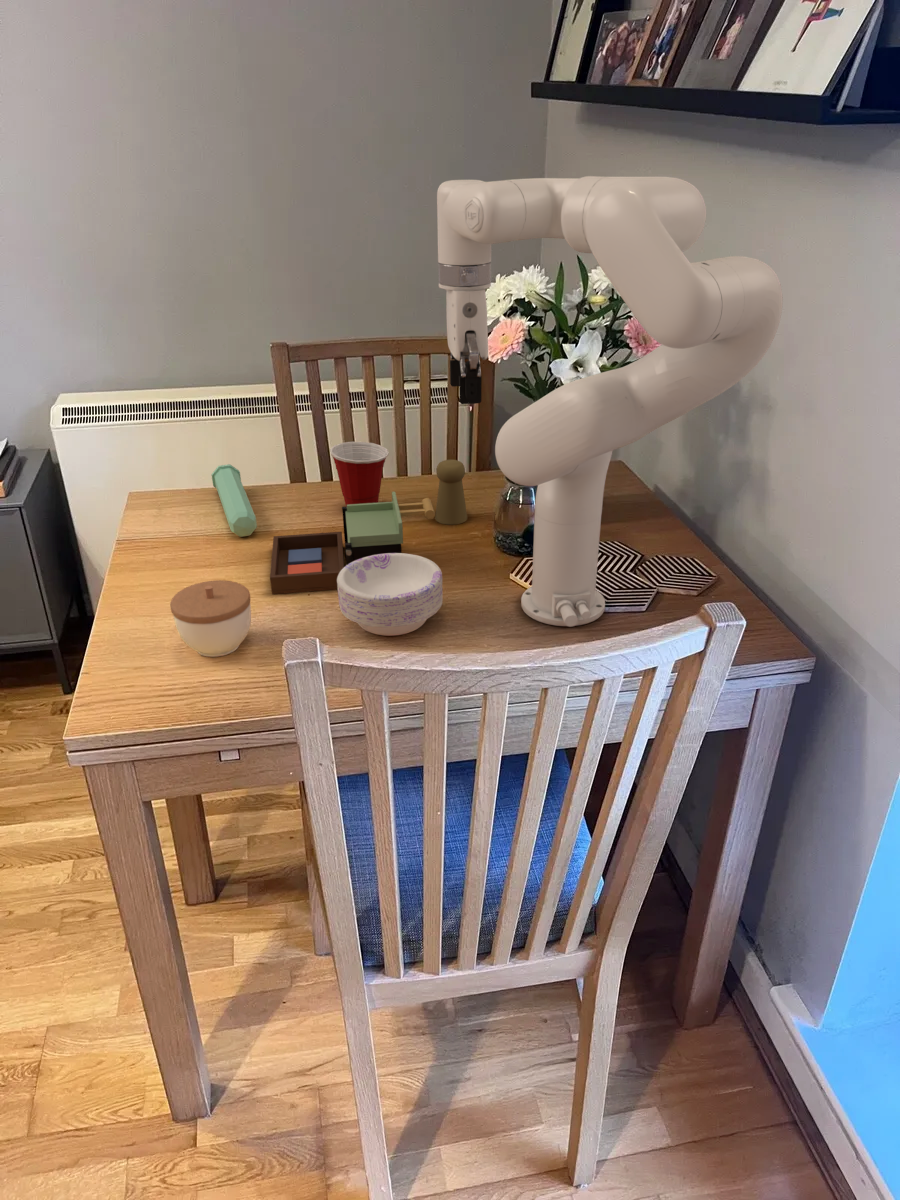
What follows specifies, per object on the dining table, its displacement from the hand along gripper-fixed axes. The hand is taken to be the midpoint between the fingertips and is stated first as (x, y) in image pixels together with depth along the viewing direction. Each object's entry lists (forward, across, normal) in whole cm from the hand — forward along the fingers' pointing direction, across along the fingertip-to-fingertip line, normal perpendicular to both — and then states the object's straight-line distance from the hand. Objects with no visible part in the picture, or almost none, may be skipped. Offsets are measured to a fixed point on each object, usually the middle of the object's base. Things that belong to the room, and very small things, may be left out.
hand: (465, 394), depth 133 cm
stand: (+28, +1, +16) cm, 32 cm away
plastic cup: (+28, +25, +16) cm, 41 cm away
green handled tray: (+22, +1, +12) cm, 25 cm away
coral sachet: (+27, -2, +27) cm, 38 cm away
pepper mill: (+28, +18, 0) cm, 34 cm away
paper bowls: (+28, -18, +14) cm, 36 cm away
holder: (+28, +1, +26) cm, 39 cm away
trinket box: (+28, -21, +39) cm, 53 cm away
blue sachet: (+27, +4, +27) cm, 38 cm away
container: (+28, +27, +40) cm, 56 cm away
